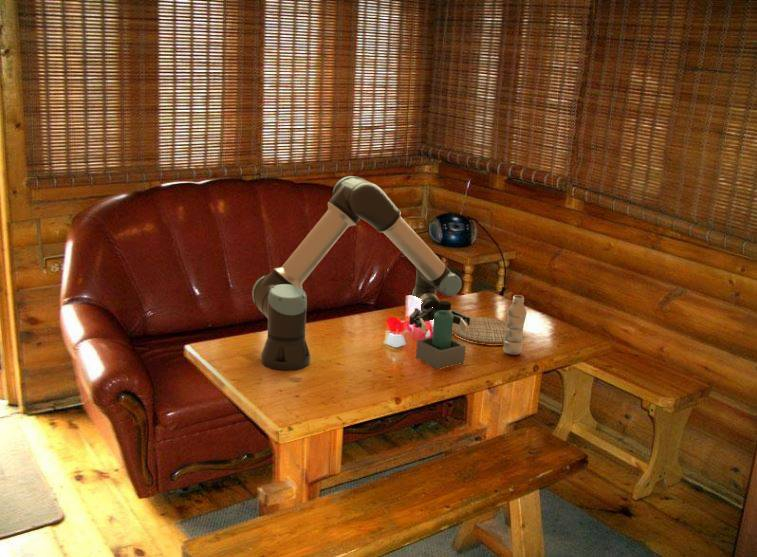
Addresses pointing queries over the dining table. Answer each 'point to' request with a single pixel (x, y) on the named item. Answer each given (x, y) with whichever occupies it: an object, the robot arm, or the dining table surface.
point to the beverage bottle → (442, 327)
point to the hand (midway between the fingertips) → (445, 329)
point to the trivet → (483, 330)
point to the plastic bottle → (515, 326)
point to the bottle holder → (440, 353)
